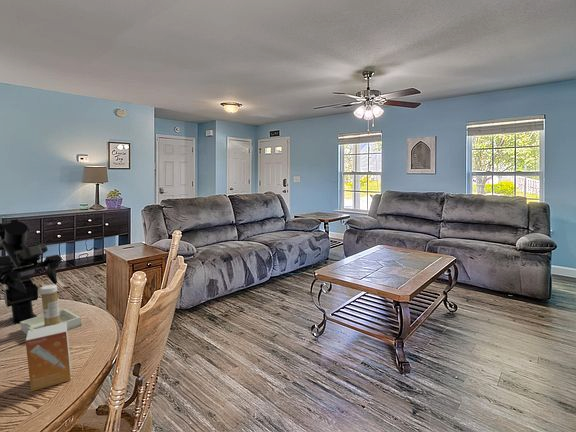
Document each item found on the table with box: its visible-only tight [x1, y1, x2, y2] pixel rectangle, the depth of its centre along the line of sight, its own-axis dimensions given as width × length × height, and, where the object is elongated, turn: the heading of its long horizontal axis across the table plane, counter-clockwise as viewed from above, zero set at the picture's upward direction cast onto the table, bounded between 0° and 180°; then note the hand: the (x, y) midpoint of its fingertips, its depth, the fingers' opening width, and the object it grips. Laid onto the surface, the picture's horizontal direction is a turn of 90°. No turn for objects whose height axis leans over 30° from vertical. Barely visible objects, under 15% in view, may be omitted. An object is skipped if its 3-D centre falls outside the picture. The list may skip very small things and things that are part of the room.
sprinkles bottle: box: [39, 284, 61, 327], centre depth 110 cm, size 5×5×14 cm
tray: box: [20, 308, 82, 335], centre depth 111 cm, size 13×13×3 cm
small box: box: [25, 322, 72, 392], centre depth 82 cm, size 8×6×13 cm
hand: (41, 287), depth 110 cm, fingers open, 9 cm apart
